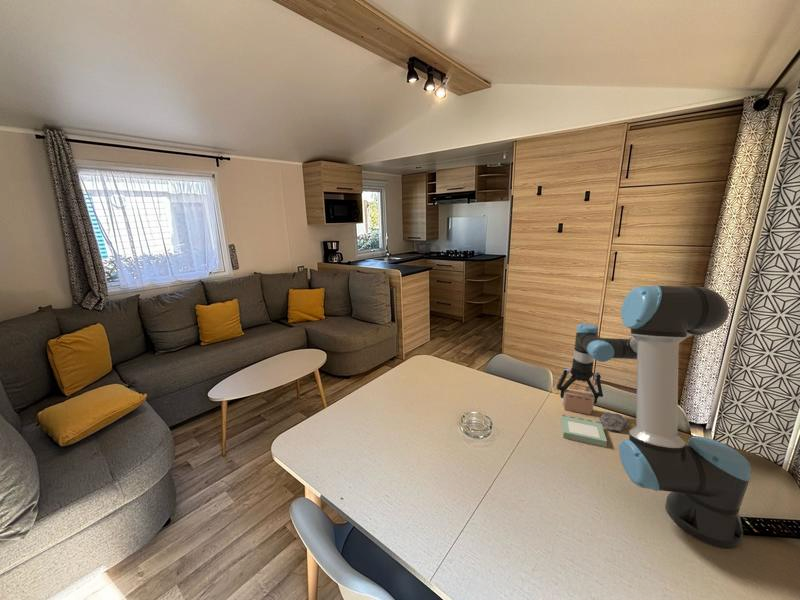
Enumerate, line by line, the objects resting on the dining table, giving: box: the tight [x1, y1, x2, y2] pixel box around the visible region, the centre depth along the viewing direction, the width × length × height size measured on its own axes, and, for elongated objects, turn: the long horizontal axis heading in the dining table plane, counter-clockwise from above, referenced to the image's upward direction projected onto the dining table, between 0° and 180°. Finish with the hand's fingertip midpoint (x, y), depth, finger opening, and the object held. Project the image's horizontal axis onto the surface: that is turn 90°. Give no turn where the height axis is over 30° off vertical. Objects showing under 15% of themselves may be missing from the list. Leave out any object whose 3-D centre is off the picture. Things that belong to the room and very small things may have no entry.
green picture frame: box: [560, 414, 608, 448], centre depth 121 cm, size 12×14×3 cm
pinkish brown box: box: [563, 387, 593, 415], centre depth 136 cm, size 5×10×8 cm, turn 67°
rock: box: [599, 411, 630, 432], centre depth 126 cm, size 9×11×4 cm
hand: (577, 406), depth 136 cm, fingers closed on pinkish brown box, 10 cm apart
